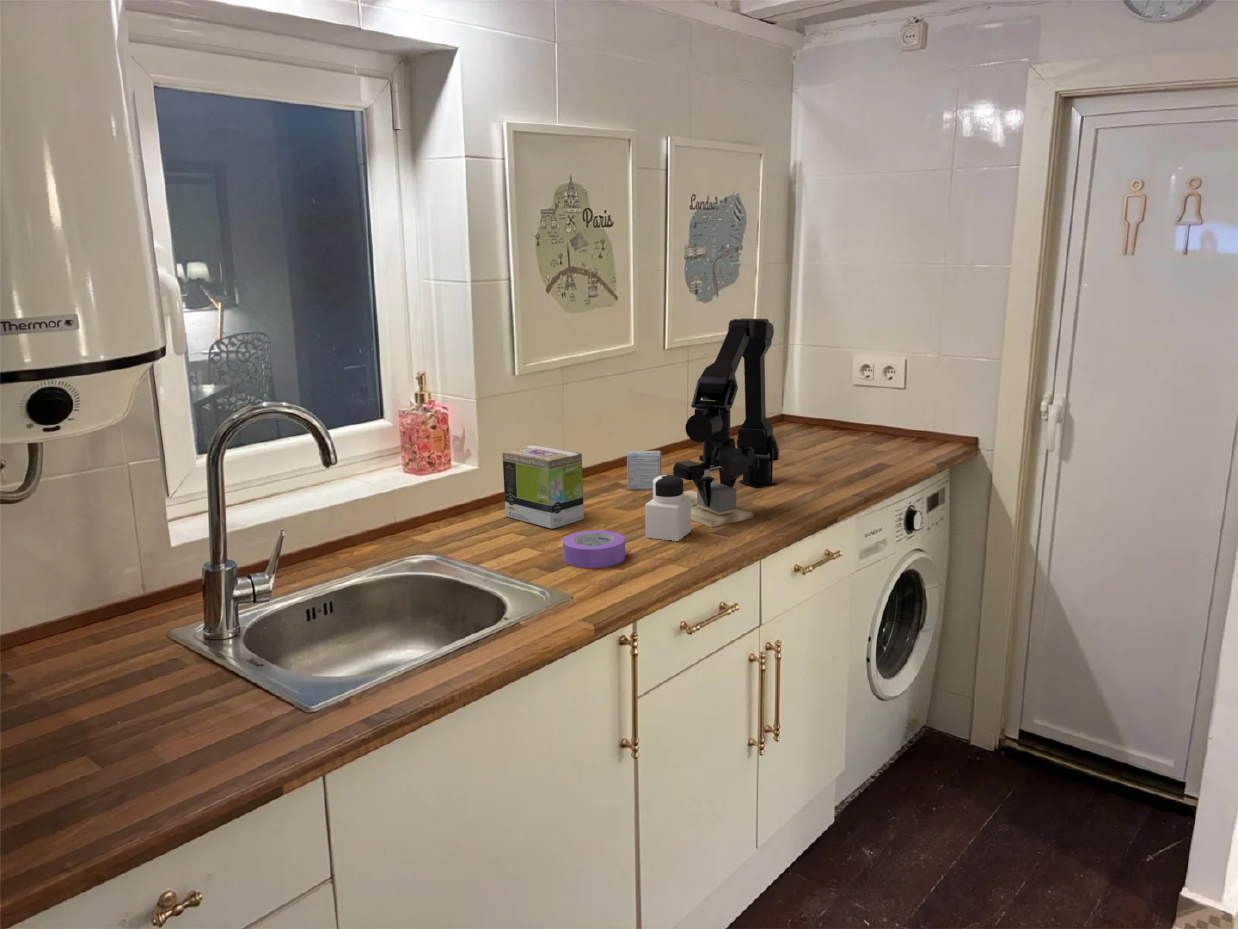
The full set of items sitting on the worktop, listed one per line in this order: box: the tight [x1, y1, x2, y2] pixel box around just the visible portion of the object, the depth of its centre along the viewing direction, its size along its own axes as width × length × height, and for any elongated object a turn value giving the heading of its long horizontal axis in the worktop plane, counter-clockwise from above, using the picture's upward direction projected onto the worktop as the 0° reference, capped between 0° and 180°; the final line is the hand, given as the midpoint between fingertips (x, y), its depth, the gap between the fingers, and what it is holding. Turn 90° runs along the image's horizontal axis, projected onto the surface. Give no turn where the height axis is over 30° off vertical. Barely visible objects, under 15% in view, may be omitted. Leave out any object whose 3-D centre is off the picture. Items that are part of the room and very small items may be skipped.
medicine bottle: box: [644, 474, 692, 542], centre depth 187 cm, size 7×7×12 cm
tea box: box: [502, 444, 585, 529], centre depth 200 cm, size 15×10×15 cm
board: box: [651, 490, 754, 528], centre depth 205 cm, size 11×22×1 cm, turn 32°
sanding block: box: [696, 480, 737, 515], centre depth 200 cm, size 4×8×5 cm, turn 31°
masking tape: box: [562, 530, 626, 569], centre depth 176 cm, size 12×12×4 cm
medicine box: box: [626, 450, 662, 491], centre depth 223 cm, size 8×4×9 cm, turn 84°
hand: (716, 504), depth 201 cm, fingers closed on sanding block, 4 cm apart
